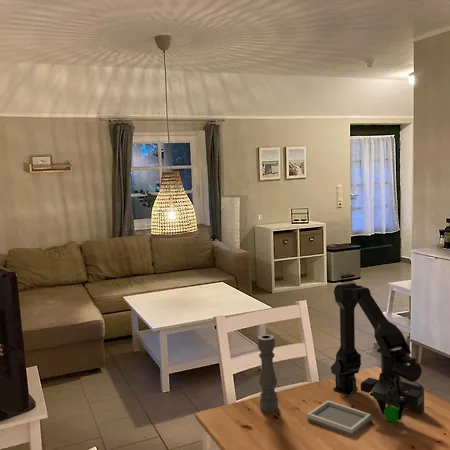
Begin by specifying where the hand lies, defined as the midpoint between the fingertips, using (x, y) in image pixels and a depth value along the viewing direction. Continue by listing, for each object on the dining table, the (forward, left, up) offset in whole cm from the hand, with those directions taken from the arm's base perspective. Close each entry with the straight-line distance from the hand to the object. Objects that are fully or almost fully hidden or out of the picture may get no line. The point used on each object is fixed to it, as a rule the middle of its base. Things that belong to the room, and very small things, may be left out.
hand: (391, 417), depth 157 cm
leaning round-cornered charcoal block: (-2, +11, -2) cm, 11 cm away
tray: (-13, -10, -1) cm, 16 cm away
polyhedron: (0, 0, -1) cm, 1 cm away
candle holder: (-36, -17, -1) cm, 40 cm away
